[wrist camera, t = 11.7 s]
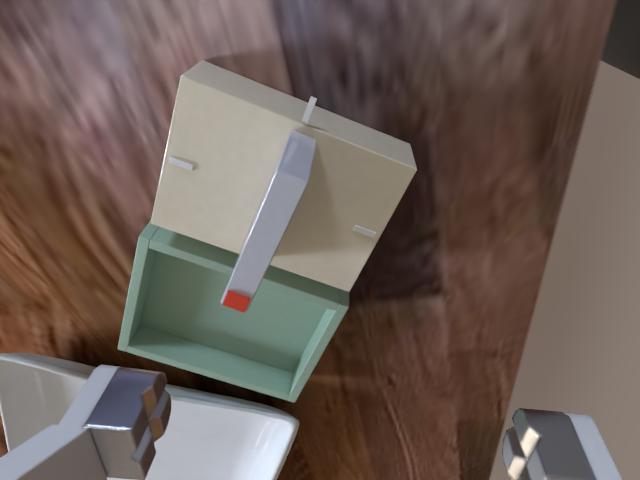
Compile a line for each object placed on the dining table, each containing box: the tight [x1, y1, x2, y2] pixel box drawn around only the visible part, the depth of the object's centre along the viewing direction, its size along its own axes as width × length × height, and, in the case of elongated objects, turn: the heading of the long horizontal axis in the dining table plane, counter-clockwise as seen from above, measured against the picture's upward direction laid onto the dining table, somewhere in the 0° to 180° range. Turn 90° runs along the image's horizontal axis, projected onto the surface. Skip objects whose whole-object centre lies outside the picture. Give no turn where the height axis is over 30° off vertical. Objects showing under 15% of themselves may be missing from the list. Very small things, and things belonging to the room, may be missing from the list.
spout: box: [221, 129, 317, 313], centre depth 25 cm, size 9×2×6 cm, turn 156°
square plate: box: [0, 353, 299, 480], centre depth 48 cm, size 27×27×4 cm
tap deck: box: [151, 60, 417, 292], centre depth 29 cm, size 14×13×4 cm
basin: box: [117, 221, 349, 403], centre depth 37 cm, size 16×12×3 cm
